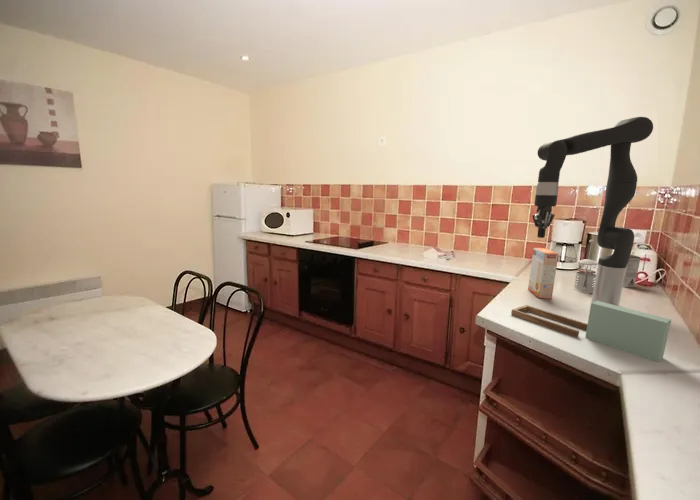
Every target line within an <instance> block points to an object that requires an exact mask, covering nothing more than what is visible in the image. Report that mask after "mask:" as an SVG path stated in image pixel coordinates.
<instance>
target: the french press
mask: <svg viewBox="0 0 700 500" xmlns="http://www.w3.org/2000/svg"><path fill="white" fill-rule="evenodd" d="M588 243H590V245H592V243H595V240H594V239H589V241H588ZM591 248H592V246H590V247H589V251H591ZM590 255H591V252H589V254H588V257H590ZM577 263H578V264H581V265H586V267H585V268H578V269H577V272H576V274H575V281H574V285H573V286H572V287H571V290H573V291H577V292H580V293H584V294H585V293H586V294H593V290H594V284H595V278H596V273H597V271H595V270H592V268H591V267H589V266H598V261H595V260H592V259H590V258H587V259H586V258H585V259H580V260H578V261H577ZM588 267H589V269H588Z"/></svg>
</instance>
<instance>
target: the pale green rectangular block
mask: <svg viewBox="0 0 700 500" xmlns="http://www.w3.org/2000/svg"><path fill="white" fill-rule="evenodd" d="M587 319H588V320H587V324H588V325H587V330H585V338H587V339H589V340H592V341H595V342H598V343H601V344H604V345H606V346H609V347H613V348H615V349H618V350H621V351H624V352H626V353H630V354H633V355H636V356H639V357H642V358H645V359H646V360H650V361H653V362H657V363H659V362H660V361H662V360H663V358H664V354H665V350H666V345H667V341H668V335H669V331H670V328H671V323H672V319H670V318H667V317H662V316H659V315H655V314H651V313H647V312H643V311H639V310H635V309H632V308H628V307H624V306H620V305H619V306H616V305H612V304H608V303H604V302H600V301H595V302H593V303H590V307H589V314H588V318H587Z"/></svg>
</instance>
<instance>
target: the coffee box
mask: <svg viewBox="0 0 700 500" xmlns="http://www.w3.org/2000/svg"><path fill="white" fill-rule="evenodd" d="M641 258H642V257H641V256H639V255H633V254H630V258H629V261H628V263H627V266H626V271H625V276H624V281H623V287H622V288H635V287H636V281H637V277H638V272H639V268H640V263H641Z"/></svg>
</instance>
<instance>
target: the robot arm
mask: <svg viewBox="0 0 700 500" xmlns="http://www.w3.org/2000/svg"><path fill="white" fill-rule="evenodd" d="M653 131H654V123H653V120H651V119H650V118H649V117H646V116H636V117H632V118H631V117H630V118H627V119H623V120H620V121H618V122H616V123H615V125H614V126H613V127H609V128H605V129H599V130H593V131H588V132H584V133H579V134H575V135H572V136H569V137H566V138H562V139H556V140H553V141H552V140H551V141H548V142H544V143H542V144H541V145H540V146H539V148H538V149H537V156H538V158H539V159H540V160H542V161H546V162H545V164H544V166H543V167H541V168H540V169H539V171H538V177H537V178H538V180H537V184H536V188H535V196H534V204H533V205H534V206H535V207H537V209H536V213H535V214H532V216H531V217H532V219H533V224H534V226H535V227H537V238H539V239H544V238H546V229H548V227H550V226H551V224H552V222H553V220H554V219H555V215H556V214H555V213H552V212H553V208H552V207H556V206H557V202H558V195H559V181H560V175H561V173H560V172H561V170H562V168H563V165H564V163H565V160H566V157H567V156H573V155H579V154H582V153H586V152H588V151H593V150H597V149H601V148H604V147H607V146H610V159H609V168H608V175H607V181H606V189H605V199H604V206H603V211H602V215H601V220H600V223H599V228H598V232H597V240H596V241H597V244H598V245H597V246H598V247H600V248H603V249H608V250H614V251H613V253H612V254H610V255H609V256H608V255H607V256H600V257H599V258H598V260H597V263H598V265H597V267H596V273H595V275H596V278H594V279H595V281H594V282H595V283H594V286H593V287H594V290H593V293H592V297H591V303H593V302H595V301H600V302H604V303H608V304H612V305H616V306H620V303H621V302H620V301H621V296H622V293H623V292H622V291H623V288H624V287H623V281H624V276H625V271H626V266H627V263H628V261H629V258H630V254H631V253H632V250H633V245H634V242H635V233H634V231H633V229H630V228H626V227H618V226H617V227H616V222H617V219H618V217H619V214H621V212H622V211H623V209H625V207H626V206H627V205H628V204H629V203H630V202H631V201H632V200H633V198H634V197H635V194H636V190H637V186H638V185H637V184H638V174H637V172H636V169H635V167H634V165H633V162H632V160H631V147H632V146H631V145H632V144H633V143H634V144H635V143H638V142H639V143H640V142H642V141H645V140H646V139H648V137H649V136H651V134H652V133H653ZM631 255H632V254H631ZM591 303H590V304H591Z"/></svg>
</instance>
